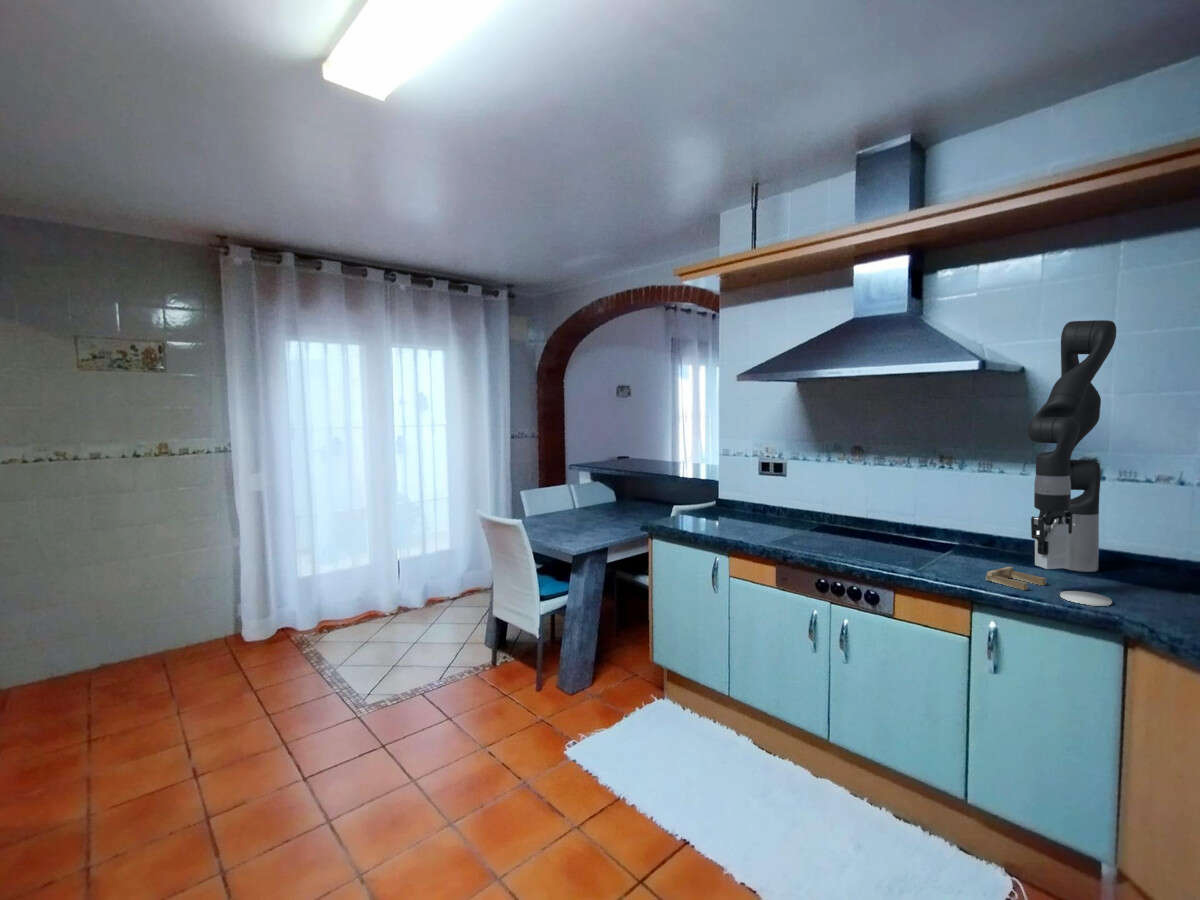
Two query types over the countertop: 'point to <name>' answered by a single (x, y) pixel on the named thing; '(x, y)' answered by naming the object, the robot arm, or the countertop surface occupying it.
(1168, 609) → the countertop surface
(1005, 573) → the rack
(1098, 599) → the coaster
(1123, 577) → the countertop surface
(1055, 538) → the skincare box
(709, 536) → the countertop surface
